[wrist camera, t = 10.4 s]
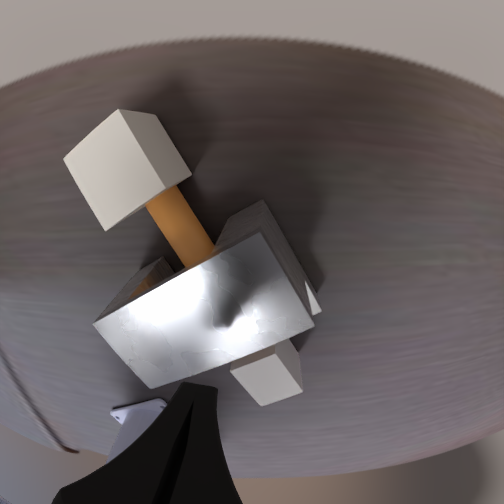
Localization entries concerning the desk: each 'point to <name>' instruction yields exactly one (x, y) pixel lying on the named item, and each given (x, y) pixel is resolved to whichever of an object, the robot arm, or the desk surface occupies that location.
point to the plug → (166, 221)
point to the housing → (212, 303)
